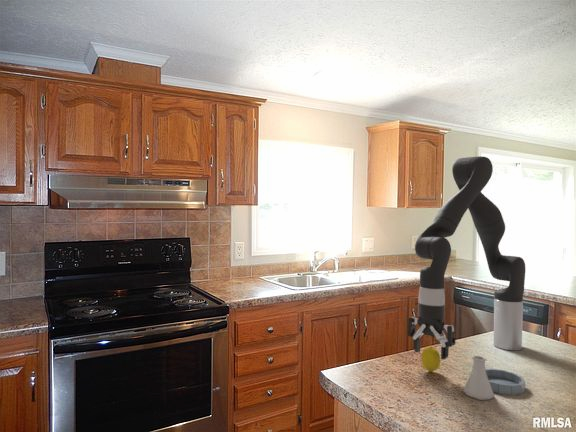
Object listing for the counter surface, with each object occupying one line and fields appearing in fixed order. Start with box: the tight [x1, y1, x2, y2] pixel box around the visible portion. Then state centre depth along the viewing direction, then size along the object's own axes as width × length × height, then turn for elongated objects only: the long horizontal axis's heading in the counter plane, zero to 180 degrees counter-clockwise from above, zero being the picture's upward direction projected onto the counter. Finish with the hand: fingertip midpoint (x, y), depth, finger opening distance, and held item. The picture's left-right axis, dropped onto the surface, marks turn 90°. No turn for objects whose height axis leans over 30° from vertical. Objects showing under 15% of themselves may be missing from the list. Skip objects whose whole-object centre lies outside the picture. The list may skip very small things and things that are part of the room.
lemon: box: [420, 345, 441, 373], centre depth 124 cm, size 6×6×8 cm
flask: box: [462, 355, 495, 401], centre depth 109 cm, size 7×7×10 cm
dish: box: [485, 368, 526, 396], centre depth 115 cm, size 12×12×2 cm
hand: (430, 355), depth 124 cm, fingers open, 8 cm apart
